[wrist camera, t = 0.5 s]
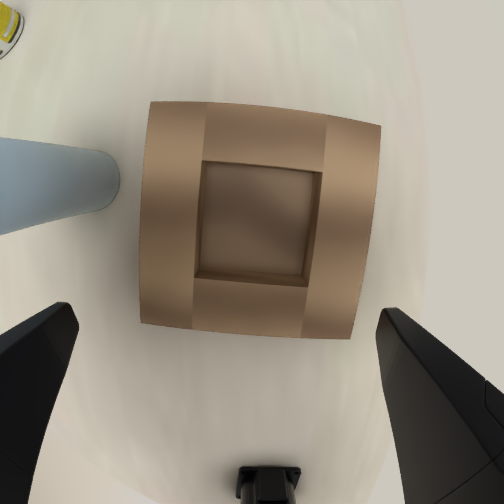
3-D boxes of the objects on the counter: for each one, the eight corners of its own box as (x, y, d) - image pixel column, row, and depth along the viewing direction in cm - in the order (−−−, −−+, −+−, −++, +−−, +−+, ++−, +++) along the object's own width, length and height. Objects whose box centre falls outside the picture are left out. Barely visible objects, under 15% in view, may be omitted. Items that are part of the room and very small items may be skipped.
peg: (118, 212, 21) (-29, 258, 7) (68, 209, 20) (-79, 247, 7) (122, 150, 20) (-27, 124, 6) (72, 151, 20) (-78, 141, 6)
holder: (338, 320, 23) (350, 339, 20) (152, 305, 22) (140, 322, 19) (364, 132, 20) (381, 125, 17) (163, 112, 19) (150, 101, 16)
